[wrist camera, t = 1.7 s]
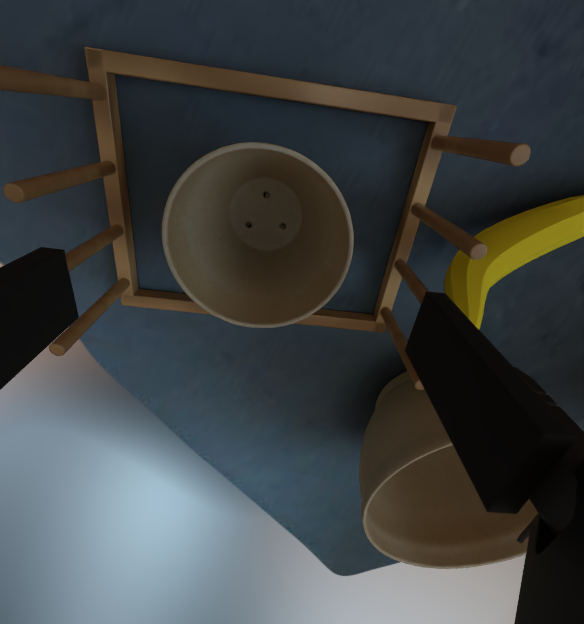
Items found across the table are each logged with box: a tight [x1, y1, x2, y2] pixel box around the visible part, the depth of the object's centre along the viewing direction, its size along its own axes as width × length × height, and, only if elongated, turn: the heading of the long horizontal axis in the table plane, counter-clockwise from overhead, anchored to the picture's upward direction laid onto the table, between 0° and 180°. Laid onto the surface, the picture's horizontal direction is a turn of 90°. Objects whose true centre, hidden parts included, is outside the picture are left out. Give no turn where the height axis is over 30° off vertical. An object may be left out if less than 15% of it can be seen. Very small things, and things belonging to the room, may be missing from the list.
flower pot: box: [162, 142, 354, 328], centre depth 21 cm, size 10×10×7 cm
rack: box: [0, 47, 531, 390], centre depth 19 cm, size 16×21×10 cm
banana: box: [444, 195, 584, 329], centre depth 20 cm, size 3×19×6 cm, turn 108°
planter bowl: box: [359, 371, 538, 569], centre depth 28 cm, size 16×16×11 cm
